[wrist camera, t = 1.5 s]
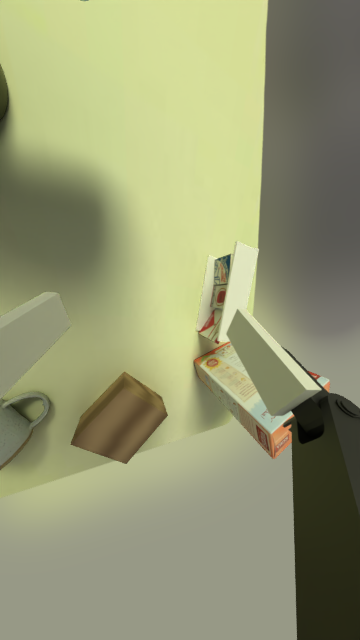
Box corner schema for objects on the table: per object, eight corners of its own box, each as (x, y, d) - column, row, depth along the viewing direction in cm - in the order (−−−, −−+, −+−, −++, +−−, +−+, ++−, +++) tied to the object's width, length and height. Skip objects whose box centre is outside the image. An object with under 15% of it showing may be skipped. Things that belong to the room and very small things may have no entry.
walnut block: (81, 415, 28) (70, 444, 22) (124, 371, 29) (124, 388, 24) (126, 435, 32) (126, 463, 27) (161, 396, 34) (167, 415, 28)
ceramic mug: (2, 447, 23) (-50, 511, 16) (-44, 420, 21) (-128, 482, 14) (64, 406, 26) (42, 446, 19) (31, 377, 23) (-8, 412, 16)
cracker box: (198, 377, 37) (274, 464, 18) (192, 359, 35) (270, 434, 16) (236, 355, 41) (331, 407, 22) (233, 338, 40) (332, 379, 20)
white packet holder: (207, 254, 32) (237, 239, 23) (225, 261, 34) (259, 249, 26) (194, 334, 34) (217, 347, 26) (212, 335, 37) (238, 347, 28)
